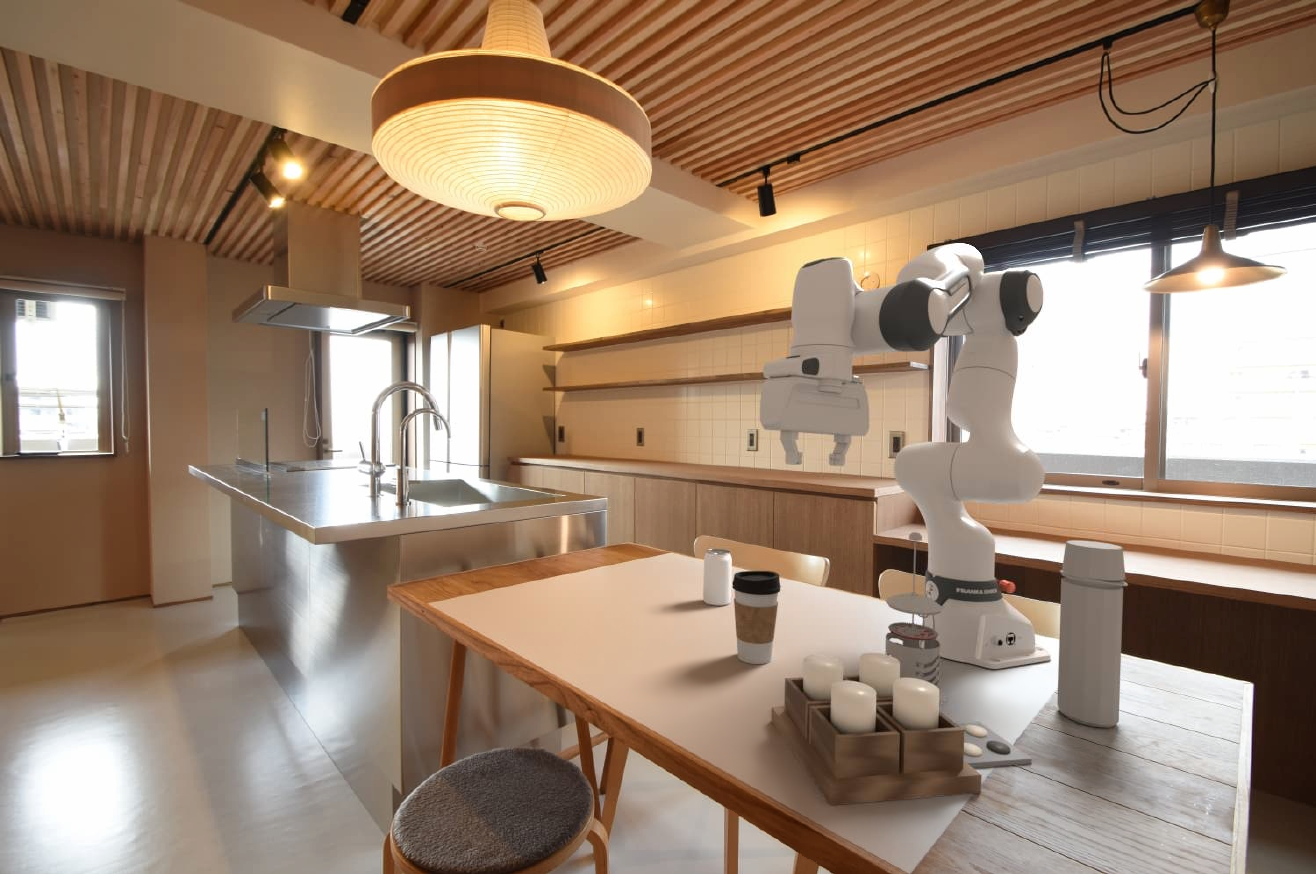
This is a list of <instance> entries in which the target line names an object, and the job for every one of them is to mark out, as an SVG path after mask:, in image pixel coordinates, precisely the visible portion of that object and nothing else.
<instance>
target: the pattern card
mask: <svg viewBox="0 0 1316 874" xmlns="http://www.w3.org/2000/svg"><path fill="white" fill-rule="evenodd" d="M955 723H956V724H957V725H959V726H960V727H961V728H963V729H964V758H963V760H964V761H965V762H967V763H968V764H969V765H970V766H971V767H973V768H974V769H975V768H976V769H977V768H986V767H987V768H989V767H1001V766H1002V767H1003V766H1012V765H1027V764H1032V760H1033V759H1032V758H1031V757H1030V756H1029V755H1027V754H1026V753H1025V752H1023V751H1022V750H1021V749H1019V748H1017V747H1016V746H1015V745H1013V744H1012V743H1010V742H1009V741H1008V740H1007V739H1004V737H1002V736H1000V735H999V734H998V733H996V731H995V732H994V731H993V730H992V729H991V728H989V727H988V726H986V725H985V724H983V723H982V722H981V721H970V722H969V721H968V722H955Z"/></svg>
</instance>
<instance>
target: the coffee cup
mask: <svg viewBox="0 0 1316 874" xmlns="http://www.w3.org/2000/svg"><path fill="white" fill-rule="evenodd" d="M781 587H782V586H781V581H780V574H779V573H778V572H775V571H772V570H771V571H770V570H746V571H738V572H736V573H734V575H733V580H732V581H731V588H732V589H733V590H734V599H733V602H734V603H733V605H734V607H733V608H734V619H735V632H736V635H735V636H736V644H737V645H736V647H737V648H736V649H737V650H736V651H737V658H738V659H739V661H742V662H744V663H746V664H750V665H751V664H752V665H764V664H769V663H770V662H771V661H772V657H773V656H772V655H773V646H774V638H775V632H776V631H775V630H776V623H777V615H778V607H779V602H778V595H779V593H780V592H781Z"/></svg>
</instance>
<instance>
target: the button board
mask: <svg viewBox="0 0 1316 874" xmlns="http://www.w3.org/2000/svg"><path fill="white" fill-rule="evenodd" d="M859 675H860V674H848V675H847V674H845V675H844V674H843V680H848V681H856V682H859ZM783 704H784V706H783V705H781V706H771V719H770V720H771V724H772V725H773V726H774V727H775V728H776V730H777V731H778V733H779V735H780V736H781V737H782V739H783V740H784V742H785V743H786V744H787V746H788V747H789V748H790V750H791V751H792V753H793V754H794V755H795V757H796V759H797V760H798V761H799V763H800V765H802V767H803V768H804V770H805V771H806V773H807V774H808V775H809V778H811V780H812V781H813V782H814V783H815V785H816V787H817V788H818V789H819V791H820V792H821V793H822V795H823V796H824V798H825V800H826V801H827V802H828V804H829V805H830V806H838V805H839V806H840V805H852V804H862V803H873V802H886V801H897V800H910V799H921V798H932V797H944V796H955V795H957V796H958V795H967V794H980V793H981V794H982V773H980V772H979V771H977V770H976V769H975V768H973V767H971V766H970V765H969V764H968V763H967V762H965V761H964V760H963V758H964V729H963V728H961V727H960V726H959V725H957V724H956V723H957V722H955V721H954V720H952V719H951V718H950V717H948V716H947V715H945V714H944V713H943V712H942V711H940V710H939V720H938V729H923V730H908V731H907V730H905V729H904V728H903V727H902V726H901V725H900V724H899V723H897V722H896V721H895V720H894V719H893V718H892V717H893V697H880V698H876V726H875V733H861V734H845V735H840V734H839V733H838V731H837V730H836V729H835V728H834V727H833V726H832V725H831V724H830V719H831V700H824V701H810V700H809V699H808V698H807V697H806V696H805V695H804V694H803V677H786V678H784V703H783Z"/></svg>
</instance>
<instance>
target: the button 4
mask: <svg viewBox="0 0 1316 874" xmlns="http://www.w3.org/2000/svg"><path fill="white" fill-rule="evenodd" d="M939 689H940V688H939ZM939 689H938V688H937V687H936V686H935V685H933V684H932V683H930V682H927V681H924V680H921V679H916V678H898V679H896V680H894V682H893V717H892V718H893V719H894V720H895V721H896V722H897V723H899V724H900V725H901V726H902V727H903V728H904V729H905V730H907V731H908V730H923V729H938V720H939V711H940V708H939V707H940V705H939Z"/></svg>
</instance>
